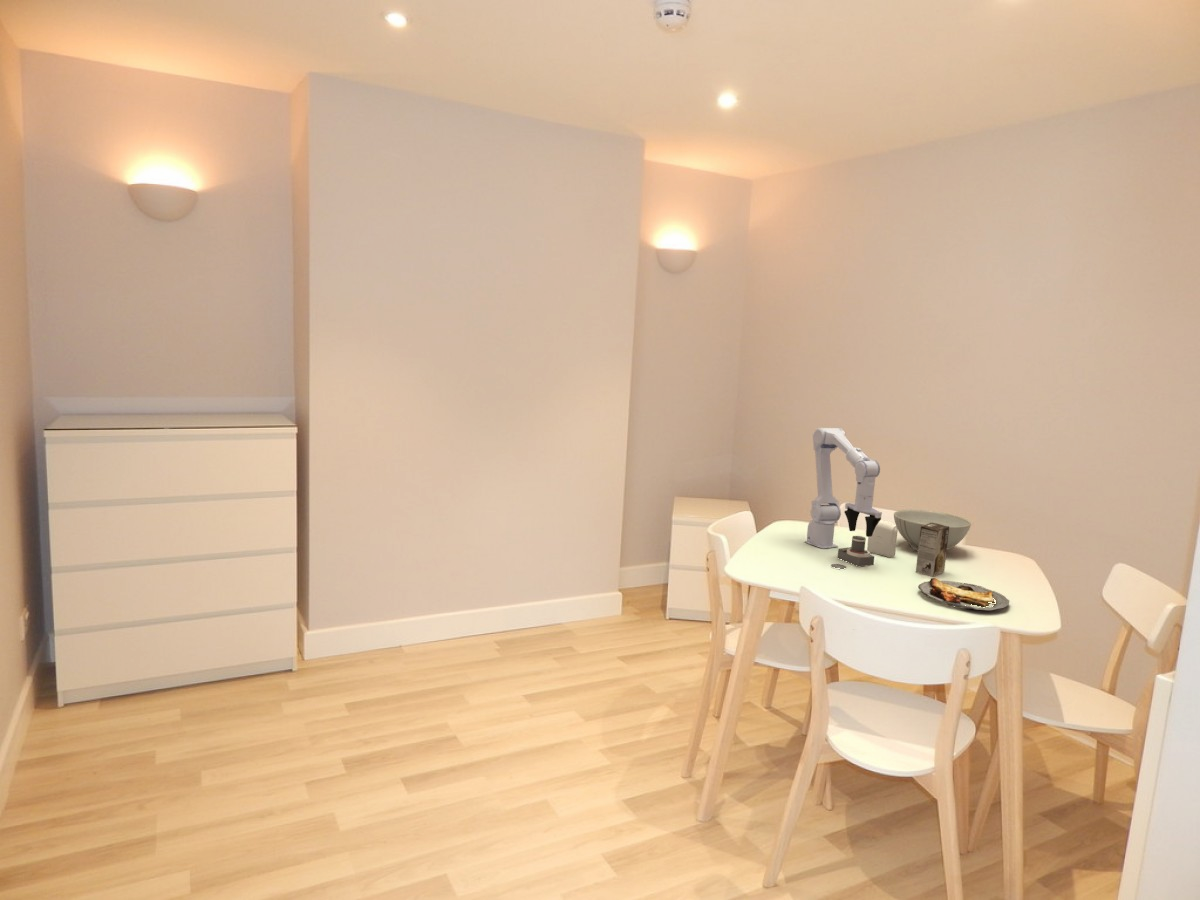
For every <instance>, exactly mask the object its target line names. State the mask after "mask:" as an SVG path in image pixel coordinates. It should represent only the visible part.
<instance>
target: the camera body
mask: <svg viewBox="0 0 1200 900" xmlns="http://www.w3.org/2000/svg"><path fill="white" fill-rule="evenodd" d="M864 551H865V552H864V554H858V553H854V552H851V546H848V547H841V548H838V549H837V557H836V558H839V559H838V560H840V559H842V560H841V561H843V560H844V561H843V562H845V561H847V562H846V563H848V562H849V563H848V564H851V563H852V564H851V565H853V564H854V566H856V565H857V566H856V567H858V566H861V567H866V566H865V565H868V566H873V565H874V563H875V556H874V555H871V552H869V551H867V549H865V550H864Z"/></svg>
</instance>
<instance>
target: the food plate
mask: <svg viewBox="0 0 1200 900" xmlns="http://www.w3.org/2000/svg"><path fill="white" fill-rule="evenodd" d="M917 588H918V589H919V590H920V591H921V593H922V594H923V595H925V596H926V597H927V596H928V598H933V600H936V601H941V602H943V603H945V604H946V605H949V606H951V607H954V608H956V609H957V608H958V609H959V608H963V609H967V610H968V609H969V610H971V609H972V610H979V611H980V610H981V611H993V610H997V609H998V610H999V609H1004V608H1006V607H1007V606H1009V604H1010V600H1009V599H1008V598H1007V597H1006V596H1005V595H1003V594H1002V593H1000V592H997V591H995V590H992V589H988V588H986V587H983V586H981V585H978V584H972V583H966V582H958V581H953V580H952V581H951V580H940V579H939V578H936V577H931V578H930V580H929V581H928V580H927V581H923V582H921V583H919V584H918V587H917ZM993 598H994V599H995V600H996V604H994V606H993V607H992V606H990V604H991V603H988V602H992V603H995V602H994V599H993ZM971 604H972V605H977V607H976V606H970V605H971ZM965 605H966V606H965ZM979 606H981V607H979ZM986 606H989V607H986ZM983 607H985V608H983Z"/></svg>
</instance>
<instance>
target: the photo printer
mask: <svg viewBox="0 0 1200 900" xmlns="http://www.w3.org/2000/svg"><path fill="white" fill-rule="evenodd" d="M898 533H899V531H898V528H897V526H896V524H893V522H890V521H888V520H887V521H886V520H882V519H881V520H880V521H879V523H878V524H877V526H876V527H875V529H874V532H873V534H872V536H871V537H867V546H866V547H867V548H866V550H867V551H869V552H870V553H873V554H876V555H880V556H884V557H887V558H894V557H895V556H896V551H897V550H896V549H897V541H898Z"/></svg>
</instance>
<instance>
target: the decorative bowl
mask: <svg viewBox="0 0 1200 900" xmlns="http://www.w3.org/2000/svg"><path fill="white" fill-rule="evenodd" d="M893 519H894V523H895V524H894V525H896V526H897V528H898V533H899V534H900V535H901V538H903V539H904V540H905V541H906V542H907V543H908V544H910V548H911V549H913V550H915V551H917V550H918V548H919V539H920V531H921V526H924V525H926V524H929V523H937V524H941V525H944V526H949V534H948V543H947V550H949V549H951V548H954V547H955V546H957V545H958V544H960V542H961V541H962V540H963V539H964V538H965V537H966V535H967V534H968V532H969V531H970V529H971V526H972V523H971V522H970V521H969V519H966V518H963V517H961V516H958V515H954V514H949V513H944V512H940V511H934V510H933V511H931V510H925V509H924V510H923V509H902V510H896V511H894V513H893Z"/></svg>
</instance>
